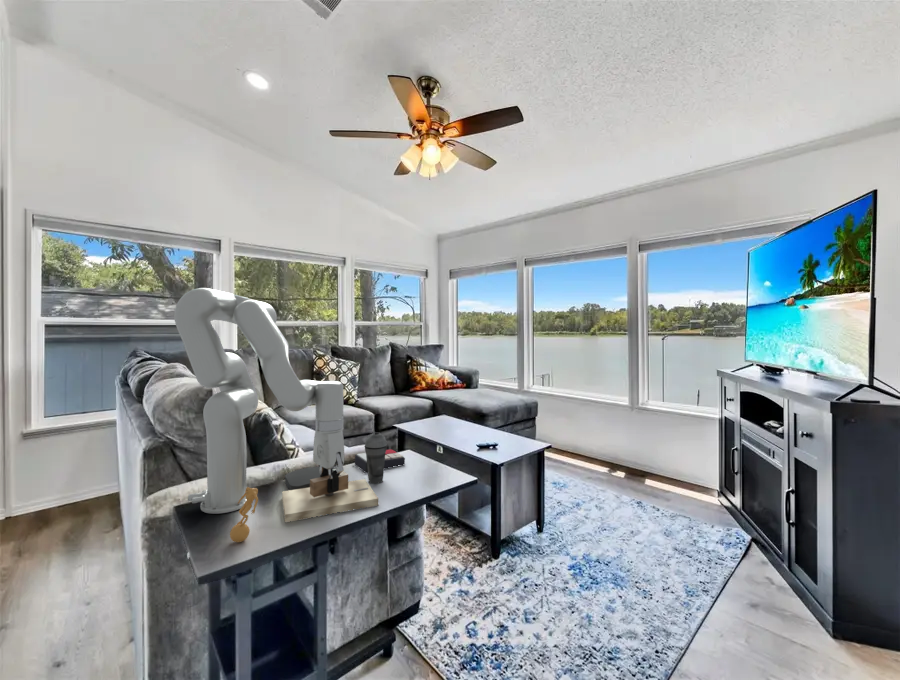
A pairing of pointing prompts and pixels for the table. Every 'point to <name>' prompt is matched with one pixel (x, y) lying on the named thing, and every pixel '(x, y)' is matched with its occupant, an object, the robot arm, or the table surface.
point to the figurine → (244, 516)
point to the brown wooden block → (320, 485)
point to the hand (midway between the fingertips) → (329, 488)
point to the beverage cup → (375, 456)
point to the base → (327, 501)
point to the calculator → (390, 460)
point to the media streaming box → (301, 478)
